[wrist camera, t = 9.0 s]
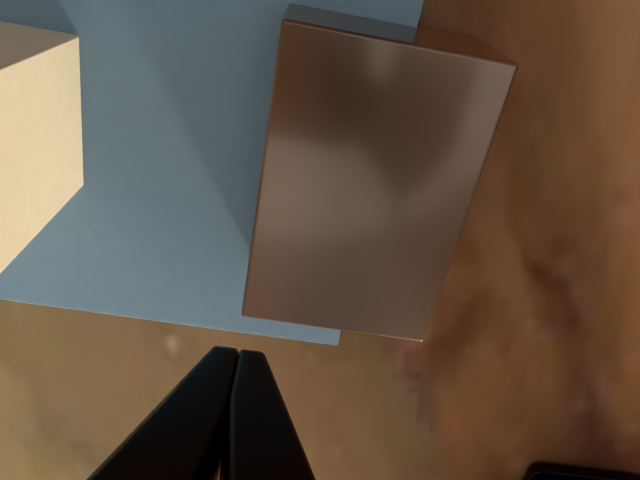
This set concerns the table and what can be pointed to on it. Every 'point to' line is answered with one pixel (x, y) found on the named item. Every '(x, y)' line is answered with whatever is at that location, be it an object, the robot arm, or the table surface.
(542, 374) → the table surface
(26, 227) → the salt mill
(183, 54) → the placemat
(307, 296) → the walnut block
